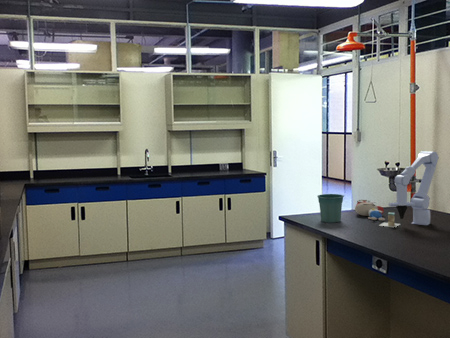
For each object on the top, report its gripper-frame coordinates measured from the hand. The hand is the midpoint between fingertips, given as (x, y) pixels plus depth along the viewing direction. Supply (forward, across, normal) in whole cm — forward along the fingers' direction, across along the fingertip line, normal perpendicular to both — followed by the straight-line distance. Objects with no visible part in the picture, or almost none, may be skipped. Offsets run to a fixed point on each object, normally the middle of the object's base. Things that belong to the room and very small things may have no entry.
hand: (401, 218), depth 296 cm
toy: (+5, +11, -30) cm, 33 cm away
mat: (+5, +6, -4) cm, 8 cm away
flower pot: (+5, +38, -20) cm, 43 cm away
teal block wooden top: (+4, +5, -3) cm, 7 cm away
